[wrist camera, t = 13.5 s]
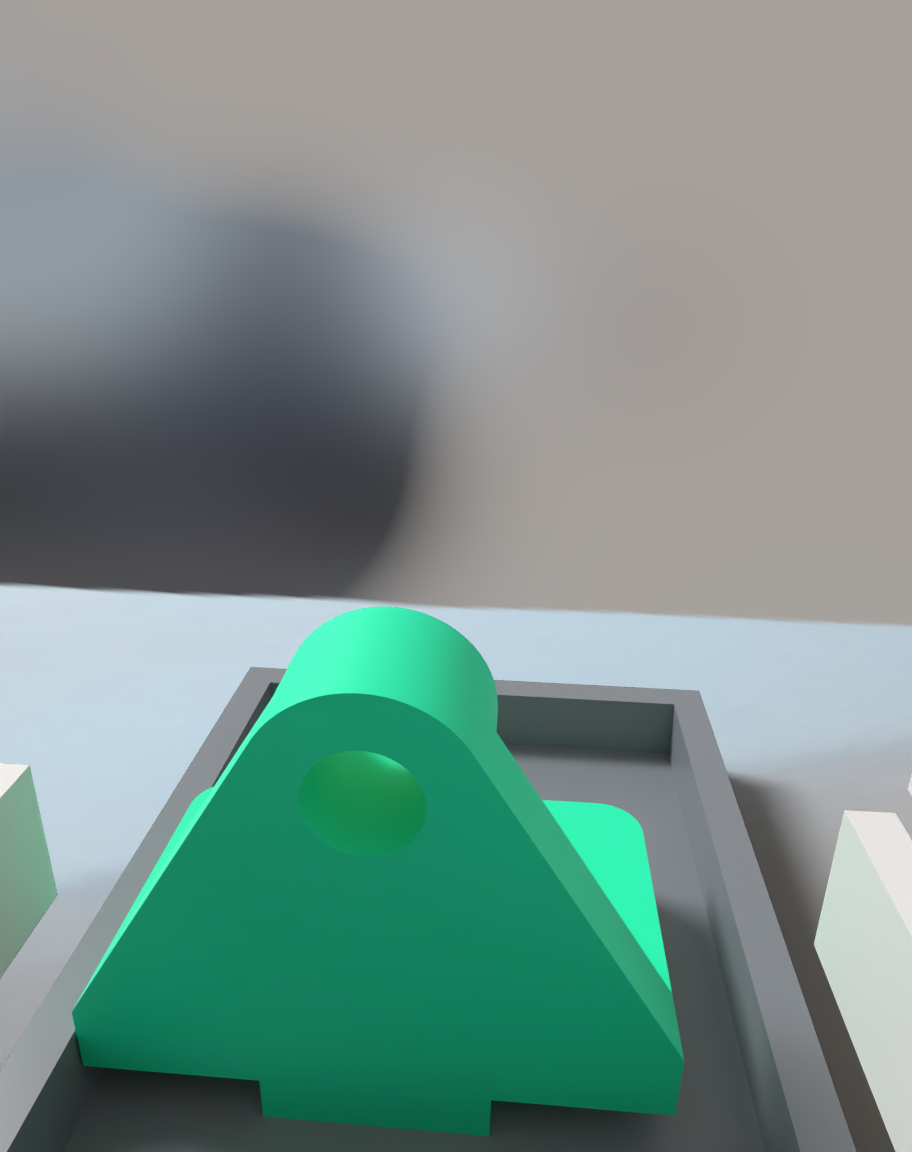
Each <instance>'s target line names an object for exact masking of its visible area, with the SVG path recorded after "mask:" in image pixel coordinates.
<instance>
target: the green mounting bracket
mask: <svg viewBox="0 0 912 1152" xmlns="http://www.w3.org/2000/svg"><path fill="white" fill-rule="evenodd" d="M497 716H498V699H497V691H496V687H495V683H494V680H493V677H492V674H491V672H490V670H489V668H488V666H487V664H486V662H485V661H484V659H483V657H482V656H481V654H480V653H479V652H478V651H477V649H476V648H475V647H474V646H473V645H472V644H471V643H470V642H469V641H468V640H467V639H466V638H465V637H464V636H463V635H462V634H460V633H459V632H458V631H457V630H455V629H454V628H452V627H451V626H449V625H448V624H446V623H444V622H442V621H440V620H438V619H437V618H434V617H432V616H429V615H427V614H424V613H421V612H418V611H414V610H410V609H405V608H398V607H369V608H363V609H358V610H353V611H350V612H347V613H344V614H341V615H339V616H337V617H335V618H333V619H331V620H329V621H327V622H326V623H324V624H322V625H321V626H320V627H319V628H317V629H316V630H315V631H313V632H312V633H311V634H310V635H309V636H308V637H307V638H306V640H305V641H304V642H303V643H302V644H301V646H300V647H299V649H298V650H297V652H296V654H295V655H294V657H293V659H292V661H291V663H290V665H289V667H288V669H287V670H286V672H285V674H284V676H283V678H282V680H281V682H280V684H279V686H278V687H277V689H276V691H275V693H274V695H273V697H272V698H271V700H270V702H269V703H268V705H267V706H266V708H265V709H264V711H263V712H262V714H261V715H260V717H259V718H258V720H257V721H256V723H255V724H254V726H253V728H252V729H251V731H250V732H249V734H248V735H247V737H246V738H245V740H244V741H243V743H242V744H241V746H240V747H239V749H238V751H237V752H236V754H235V755H234V757H233V758H232V760H231V761H230V763H229V764H228V766H227V767H226V769H225V770H224V772H223V774H222V775H221V777H220V778H219V780H218V781H217V783H216V784H215V786H214V787H211V788H209V789H207V790H205V791H204V792H202V793H201V794H199V795H198V796H197V797H196V798H195V799H194V800H193V801H192V803H191V804H190V806H189V808H188V809H187V811H186V813H185V815H184V816H183V818H182V820H181V822H180V823H179V825H178V827H177V829H176V830H175V832H174V834H173V836H172V837H171V839H170V841H169V843H168V844H167V846H166V848H165V850H164V851H163V853H162V855H161V857H160V858H159V860H158V862H157V864H156V865H155V867H154V869H153V871H152V872H151V874H150V876H149V878H148V879H147V881H146V883H145V885H144V886H143V888H142V890H141V892H140V893H139V895H138V897H137V899H136V900H135V902H134V904H133V906H132V907H131V909H130V911H129V913H128V914H127V916H126V918H125V920H124V921H123V923H122V925H121V927H120V928H119V930H118V932H117V934H116V935H115V937H114V939H113V941H112V942H111V944H110V946H109V948H108V949H107V951H106V953H105V955H104V956H103V958H102V960H101V962H100V963H99V965H98V967H97V969H96V970H95V972H94V974H93V976H92V977H91V979H90V981H89V983H88V984H87V986H86V988H85V990H84V991H83V993H82V995H81V997H80V998H79V1000H78V1002H77V1004H76V1005H75V1007H74V1009H73V1011H72V1017H73V1021H74V1026H75V1030H76V1035H77V1039H78V1044H79V1048H80V1053H81V1057H82V1062H83V1066H90V1067H102V1068H114V1069H126V1070H138V1071H150V1072H162V1073H173V1074H185V1075H197V1076H209V1077H221V1078H233V1079H245V1080H257V1081H259V1083H260V1092H261V1101H262V1110H263V1117H273V1118H284V1119H296V1120H307V1121H319V1122H331V1123H342V1124H354V1125H365V1126H377V1127H388V1128H400V1129H411V1130H423V1131H434V1132H446V1133H457V1134H469V1135H481V1136H490V1114H491V1100H494V1101H506V1102H518V1103H530V1104H541V1105H553V1106H565V1107H577V1108H589V1109H601V1110H613V1111H624V1112H636V1113H648V1114H660V1115H672V1116H675V1115H676V1109H677V1103H678V1097H679V1091H680V1085H681V1079H682V1073H683V1067H684V1056H683V1051H682V1045H681V1040H680V1034H679V1029H678V1023H677V1018H676V1012H675V1006H674V1001H673V995H672V990H671V984H670V979H669V973H668V968H667V962H666V957H665V951H664V946H663V940H662V934H661V929H660V923H659V918H658V912H657V907H656V901H655V896H654V890H653V885H652V879H651V874H650V868H649V862H648V857H647V851H646V846H645V840H644V835H643V830H642V828H641V826H640V824H639V823H638V821H637V820H636V819H635V818H634V817H633V816H632V815H630V814H629V813H627V812H626V811H624V810H622V809H620V808H617V807H614V806H611V805H607V804H600V803H584V802H567V801H551V800H542V799H541V798H540V796H539V795H538V793H537V792H536V790H535V789H534V787H533V786H532V784H531V783H530V781H529V780H528V778H527V777H526V775H525V774H524V772H523V771H522V769H521V768H520V766H519V765H518V763H517V762H516V760H515V759H514V757H513V756H512V754H511V753H510V751H509V750H508V748H507V747H506V745H505V744H504V742H503V741H502V739H501V738H500V737H499V735H498V734H497V732H496V731H497Z"/></svg>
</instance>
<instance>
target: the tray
mask: <svg viewBox="0 0 912 1152" xmlns="http://www.w3.org/2000/svg"><path fill="white" fill-rule="evenodd" d="M286 670H287V669H277V668H259V667H251V668H250V669H249V671H248V672H247V674H246V676H245V677H244V679H243V680H242V682H241V684H240V685H239V687H238V689H237V690H236V692H235V693H234V695H233V697H232V698H231V700H230V701H229V703H228V705H227V706H226V708H225V709H224V711H223V713H222V714H221V716H220V717H219V719H218V721H217V722H216V724H215V726H214V727H213V729H212V730H211V732H210V734H209V735H208V737H207V738H206V740H205V742H204V743H203V745H202V746H201V748H200V750H199V751H198V753H197V754H196V756H195V758H194V759H193V761H192V762H191V764H190V766H189V767H188V769H187V771H186V772H185V774H184V775H183V777H182V779H181V780H180V782H179V783H178V785H177V787H176V788H175V790H174V791H173V793H172V795H171V796H170V798H169V799H168V801H167V803H166V804H165V806H164V808H163V809H162V811H161V812H160V814H159V816H158V817H157V819H156V820H155V822H154V824H153V825H152V827H151V828H150V830H149V832H148V833H147V835H146V836H145V838H144V840H143V841H142V843H141V845H140V846H139V848H138V849H137V851H136V853H135V854H134V856H133V857H132V859H131V861H130V862H129V864H128V865H127V867H126V869H125V870H124V872H123V873H122V875H121V877H120V878H119V880H118V881H117V883H116V885H115V886H114V888H113V890H112V891H111V893H110V894H109V896H108V898H107V899H106V901H105V902H104V904H103V906H102V907H101V909H100V910H99V912H98V914H97V915H96V917H95V918H94V920H93V922H92V923H91V925H90V927H89V928H88V930H87V931H86V933H85V935H84V936H83V938H82V939H81V941H80V943H79V944H78V946H77V947H76V949H75V951H74V952H73V954H72V955H71V957H70V959H69V960H68V962H67V963H66V965H65V967H64V968H63V970H62V972H61V973H60V975H59V976H58V978H57V980H56V981H55V983H54V984H53V986H52V988H51V989H50V991H49V992H48V994H47V996H46V997H45V999H44V1000H43V1002H42V1004H41V1005H40V1007H39V1009H38V1010H37V1012H36V1013H35V1015H34V1017H33V1018H32V1020H31V1021H30V1023H29V1025H28V1026H27V1028H26V1029H25V1031H24V1033H23V1034H22V1036H21V1037H20V1039H19V1041H18V1042H17V1044H16V1046H15V1047H14V1049H13V1050H12V1052H11V1054H10V1055H9V1057H8V1058H7V1060H6V1062H5V1063H4V1065H3V1066H2V1068H1V1070H0V1152H856V1149H855V1146H854V1143H853V1140H852V1137H851V1134H850V1131H849V1128H848V1125H847V1122H846V1119H845V1117H844V1114H843V1111H842V1108H841V1105H840V1102H839V1099H838V1096H837V1093H836V1090H835V1087H834V1084H833V1081H832V1079H831V1076H830V1073H829V1070H828V1067H827V1064H826V1061H825V1058H824V1055H823V1052H822V1049H821V1046H820V1043H819V1040H818V1038H817V1035H816V1032H815V1029H814V1026H813V1023H812V1020H811V1017H810V1014H809V1011H808V1008H807V1005H806V1002H805V999H804V997H803V994H802V991H801V988H800V985H799V982H798V979H797V976H796V973H795V970H794V967H793V964H792V961H791V958H790V956H789V953H788V950H787V947H786V944H785V941H784V938H783V935H782V932H781V929H780V926H779V923H778V920H777V918H776V915H775V912H774V909H773V906H772V903H771V900H770V897H769V894H768V891H767V888H766V885H765V882H764V879H763V877H762V874H761V871H760V868H759V865H758V862H757V859H756V856H755V853H754V850H753V847H752V844H751V841H750V838H749V836H748V833H747V830H746V827H745V824H744V821H743V818H742V815H741V812H740V809H739V806H738V803H737V800H736V798H735V795H734V792H733V789H732V786H731V783H730V780H729V777H728V774H727V771H726V768H725V765H724V762H723V759H722V757H721V754H720V751H719V748H718V745H717V742H716V739H715V736H714V733H713V730H712V727H711V724H710V721H709V718H708V716H707V713H706V710H705V707H704V704H703V701H702V698H701V695H700V692H699V691H693V690H674V689H655V688H636V687H617V686H598V685H579V684H561V683H542V682H523V681H504V680H494V683H495V687H496V691H497V699H498V716H497V731H496V732H497V734H498V735H499V737H500V738H501V739H502V741H503V742H504V744H505V745H506V747H507V748H508V750H509V751H510V753H511V754H512V756H513V757H514V759H515V760H516V762H517V763H518V765H519V766H520V768H521V769H522V771H523V772H524V774H525V775H526V777H527V778H528V780H529V781H530V783H531V784H532V786H533V787H534V789H535V790H536V792H537V793H538V795H539V796H540V798H541V799H542V800H551V801H567V802H584V803H600V804H607V805H611V806H614V807H617V808H620V809H622V810H624V811H626V812H627V813H629V814H630V815H632V816H633V817H634V818H635V819H636V820H637V821H638V823H639V824H640V826H641V828H642V830H643V835H644V840H645V846H646V851H647V857H648V862H649V868H650V874H651V879H652V885H653V890H654V896H655V901H656V907H657V912H658V918H659V923H660V929H661V934H662V940H663V946H664V951H665V957H666V962H667V968H668V973H669V979H670V984H671V990H672V995H673V1001H674V1006H675V1012H676V1018H677V1023H678V1029H679V1034H680V1040H681V1045H682V1051H683V1056H684V1067H683V1073H682V1079H681V1085H680V1091H679V1097H678V1103H677V1109H676V1115H675V1116H672V1115H660V1114H648V1113H636V1112H624V1111H613V1110H601V1109H589V1108H577V1107H565V1106H553V1105H541V1104H530V1103H518V1102H506V1101H494V1100H491V1114H490V1136H481V1135H469V1134H457V1133H446V1132H434V1131H423V1130H411V1129H400V1128H388V1127H377V1126H365V1125H354V1124H342V1123H331V1122H319V1121H307V1120H296V1119H284V1118H273V1117H263V1110H262V1101H261V1092H260V1083H259V1081H257V1080H245V1079H233V1078H221V1077H209V1076H197V1075H185V1074H173V1073H162V1072H150V1071H138V1070H126V1069H114V1068H102V1067H90V1066H83V1062H82V1057H81V1053H80V1048H79V1044H78V1039H77V1035H76V1030H75V1026H74V1021H73V1017H72V1011H73V1009H74V1007H75V1005H76V1004H77V1002H78V1000H79V998H80V997H81V995H82V993H83V991H84V990H85V988H86V986H87V984H88V983H89V981H90V979H91V977H92V976H93V974H94V972H95V970H96V969H97V967H98V965H99V963H100V962H101V960H102V958H103V956H104V955H105V953H106V951H107V949H108V948H109V946H110V944H111V942H112V941H113V939H114V937H115V935H116V934H117V932H118V930H119V928H120V927H121V925H122V923H123V921H124V920H125V918H126V916H127V914H128V913H129V911H130V909H131V907H132V906H133V904H134V902H135V900H136V899H137V897H138V895H139V893H140V892H141V890H142V888H143V886H144V885H145V883H146V881H147V879H148V878H149V876H150V874H151V872H152V871H153V869H154V867H155V865H156V864H157V862H158V860H159V858H160V857H161V855H162V853H163V851H164V850H165V848H166V846H167V844H168V843H169V841H170V839H171V837H172V836H173V834H174V832H175V830H176V829H177V827H178V825H179V823H180V822H181V820H182V818H183V816H184V815H185V813H186V811H187V809H188V808H189V806H190V804H191V803H192V801H193V800H194V799H195V798H196V797H197V796H198V795H199V794H201V793H202V792H204V791H205V790H207V789H209V788H211V787H214V786H215V784H216V783H217V781H218V780H219V778H220V777H221V775H222V774H223V772H224V770H225V769H226V767H227V766H228V764H229V763H230V761H231V760H232V758H233V757H234V755H235V754H236V752H237V751H238V749H239V747H240V746H241V744H242V743H243V741H244V740H245V738H246V737H247V735H248V734H249V732H250V731H251V729H252V728H253V726H254V724H255V723H256V721H257V720H258V718H259V717H260V715H261V714H262V712H263V711H264V709H265V708H266V706H267V705H268V703H269V702H270V700H271V698H272V697H273V695H274V693H275V691H276V689H277V687H278V686H279V684H280V682H281V680H282V678H283V676H284V674H285V672H286Z"/></svg>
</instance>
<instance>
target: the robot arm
mask: <svg viewBox="0 0 912 1152" xmlns="http://www.w3.org/2000/svg"><path fill="white" fill-rule="evenodd" d="M56 896H57V890H56V885H55V881H54V876H53V871H52V867H51V862H50V858H49V853H48V848H47V844H46V839H45V834H44V830H43V825H42V821H41V816H40V811H39V807H38V802H37V797H36V793H35V788H34V784H33V779H32V774H31V770H30V765H16V764H0V978H1V977H2V975H3V974H4V972H5V971H6V970H7V968H8V967H9V965H10V964H11V962H12V961H13V959H14V958H15V956H16V955H17V953H18V952H19V951H20V949H21V948H22V946H23V945H24V943H25V942H26V940H27V939H28V937H29V936H30V934H31V933H32V932H33V930H34V929H35V927H36V926H37V924H38V923H39V921H40V920H41V918H42V917H43V915H44V914H45V913H46V911H47V910H48V908H49V907H50V905H51V904H52V902H53V901H54V899H55V898H56ZM814 946H815V949H816V951H817V954H818V956H819V959H820V961H821V964H822V966H823V969H824V971H825V974H826V976H827V979H828V982H829V984H830V987H831V989H832V992H833V994H834V997H835V999H836V1002H837V1004H838V1007H839V1010H840V1012H841V1015H842V1017H843V1020H844V1022H845V1025H846V1027H847V1030H848V1032H849V1035H850V1038H851V1040H852V1043H853V1045H854V1048H855V1050H856V1053H857V1055H858V1058H859V1060H860V1063H861V1065H862V1068H863V1071H864V1073H865V1076H866V1078H867V1081H868V1083H869V1086H870V1088H871V1091H872V1093H873V1096H874V1099H875V1101H876V1104H877V1106H878V1109H879V1111H880V1114H881V1116H882V1119H883V1121H884V1124H885V1127H886V1129H887V1132H888V1134H889V1137H890V1139H891V1142H892V1144H893V1147H894V1149H895V1152H912V840H911V838H910V837H909V835H908V833H907V832H906V830H905V828H904V827H903V825H902V824H901V822H900V820H899V819H898V817H897V815H896V814H895V813H883V812H865V811H847V810H844V815H843V819H842V823H841V828H840V832H839V836H838V841H837V845H836V849H835V854H834V858H833V863H832V867H831V871H830V876H829V880H828V884H827V889H826V893H825V897H824V902H823V906H822V910H821V915H820V919H819V924H818V928H817V932H816V937H815V941H814Z"/></svg>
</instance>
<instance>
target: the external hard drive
mask: <svg viewBox="0 0 912 1152" xmlns="http://www.w3.org/2000/svg"><path fill="white" fill-rule="evenodd" d="M908 791H909V792H910V794H911V796H912V775H911V779H910V783H909V787H908Z"/></svg>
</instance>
